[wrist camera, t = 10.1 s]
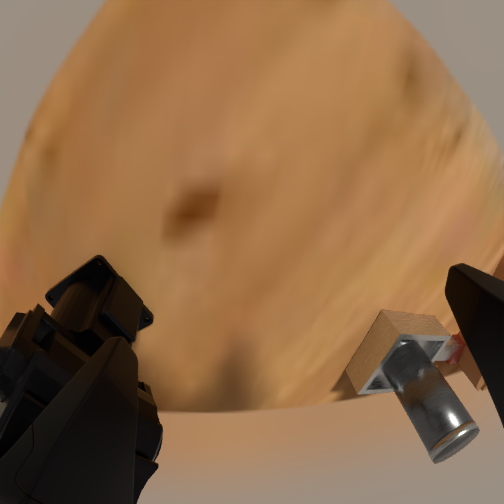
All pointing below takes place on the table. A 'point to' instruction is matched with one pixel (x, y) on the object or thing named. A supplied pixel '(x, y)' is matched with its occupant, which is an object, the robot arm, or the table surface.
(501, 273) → the bracket
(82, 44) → the table surface
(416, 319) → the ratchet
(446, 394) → the dark metal cylinder
